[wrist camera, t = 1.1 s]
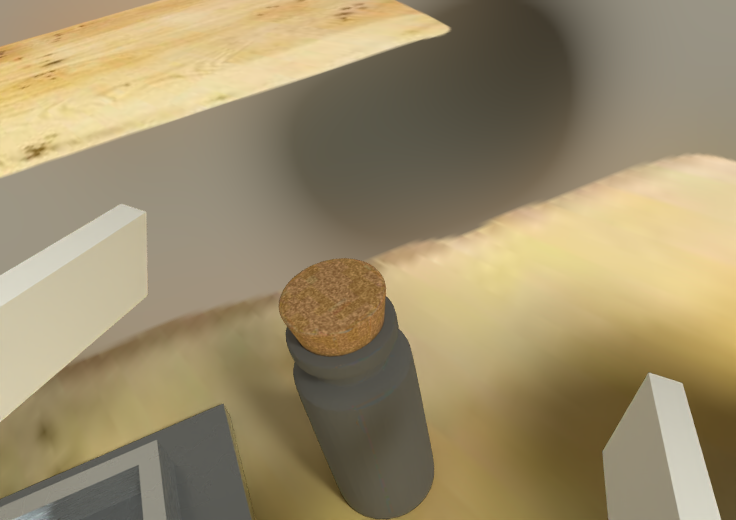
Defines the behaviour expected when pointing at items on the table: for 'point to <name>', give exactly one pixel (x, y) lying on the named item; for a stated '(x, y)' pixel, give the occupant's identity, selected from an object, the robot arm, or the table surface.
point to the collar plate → (149, 479)
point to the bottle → (359, 386)
